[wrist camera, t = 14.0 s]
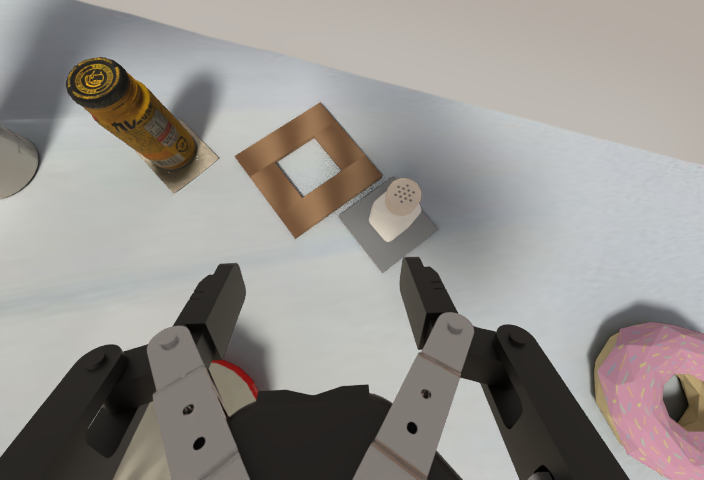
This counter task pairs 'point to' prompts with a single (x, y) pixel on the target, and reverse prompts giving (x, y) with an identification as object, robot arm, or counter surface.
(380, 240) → the coaster
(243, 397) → the pompom beanie hat
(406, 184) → the salt shaker
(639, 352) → the donut
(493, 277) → the counter surface
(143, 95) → the condiment
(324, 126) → the square wooden frame
